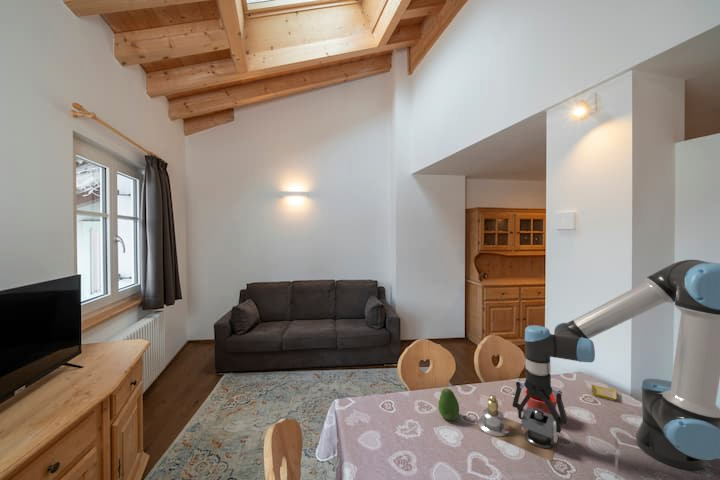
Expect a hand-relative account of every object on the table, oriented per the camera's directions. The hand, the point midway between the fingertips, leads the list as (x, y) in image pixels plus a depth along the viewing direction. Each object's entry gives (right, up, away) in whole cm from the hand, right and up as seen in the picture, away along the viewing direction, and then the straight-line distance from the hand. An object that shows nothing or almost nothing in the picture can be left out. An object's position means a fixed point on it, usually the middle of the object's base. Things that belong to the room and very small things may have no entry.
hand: (539, 433), depth 102 cm
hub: (-13, -2, +8) cm, 15 cm away
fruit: (-28, -4, +14) cm, 31 cm away
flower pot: (+9, -3, +13) cm, 15 cm away
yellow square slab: (+46, -1, +27) cm, 54 cm away
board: (-7, -3, +4) cm, 8 cm away
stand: (0, -2, 0) cm, 2 cm away
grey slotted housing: (0, +3, 0) cm, 3 cm away
